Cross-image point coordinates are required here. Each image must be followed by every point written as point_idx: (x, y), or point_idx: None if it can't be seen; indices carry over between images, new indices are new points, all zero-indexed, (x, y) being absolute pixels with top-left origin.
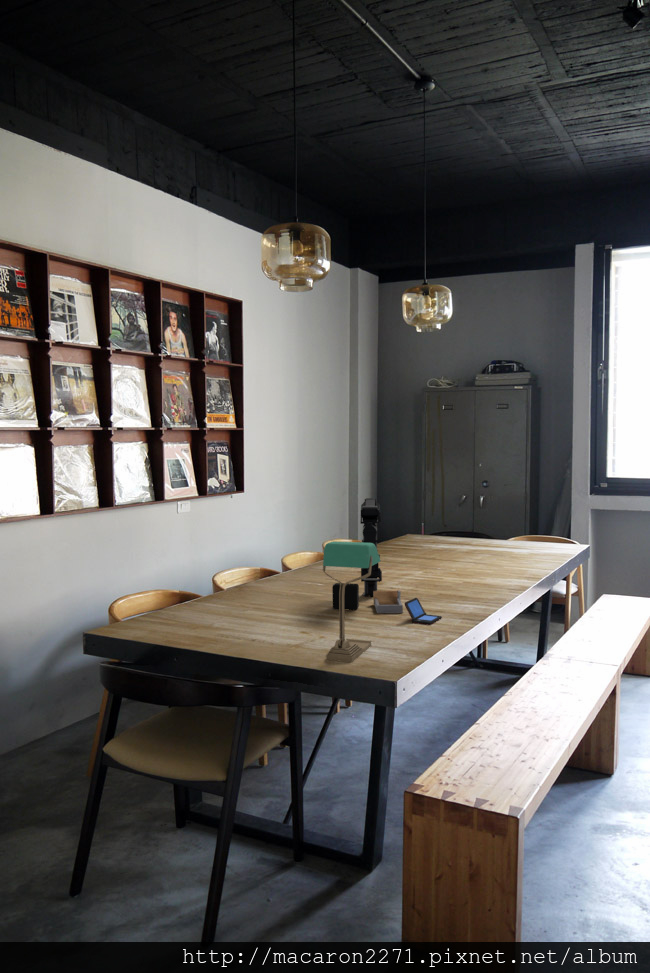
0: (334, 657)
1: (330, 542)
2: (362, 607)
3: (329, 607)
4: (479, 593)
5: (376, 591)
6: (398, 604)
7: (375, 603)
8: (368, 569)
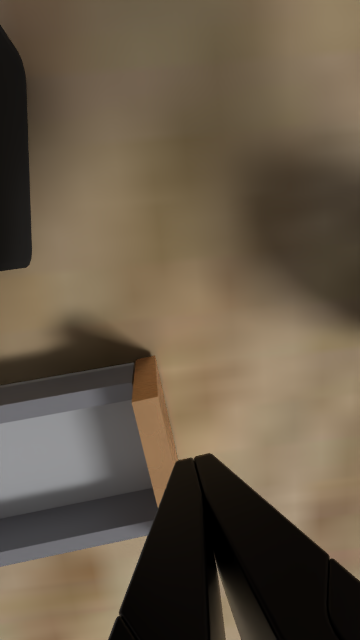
0: None
1: None
2: (62, 289)
3: (11, 14)
4: None
5: (137, 423)
6: (33, 531)
7: (38, 391)
8: (145, 553)
